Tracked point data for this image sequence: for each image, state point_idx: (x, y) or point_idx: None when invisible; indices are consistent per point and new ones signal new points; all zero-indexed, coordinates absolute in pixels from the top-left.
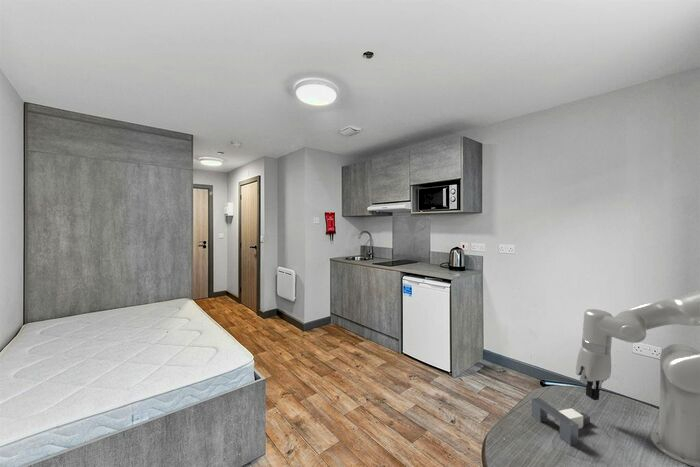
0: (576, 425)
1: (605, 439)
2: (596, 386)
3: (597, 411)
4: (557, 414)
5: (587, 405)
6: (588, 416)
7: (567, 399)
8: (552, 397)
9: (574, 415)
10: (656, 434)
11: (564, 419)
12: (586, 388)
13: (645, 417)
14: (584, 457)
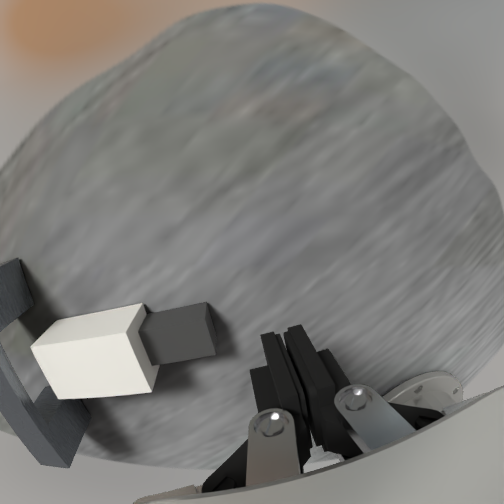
0: (62, 466)
1: (210, 408)
2: (332, 446)
3: (347, 235)
4: (11, 412)
5: (338, 180)
6: (209, 351)
7: (264, 115)
8: (181, 93)
9: (107, 384)
10: (412, 392)
11: (28, 439)
12: (271, 372)
13: (482, 277)
14: (87, 448)
